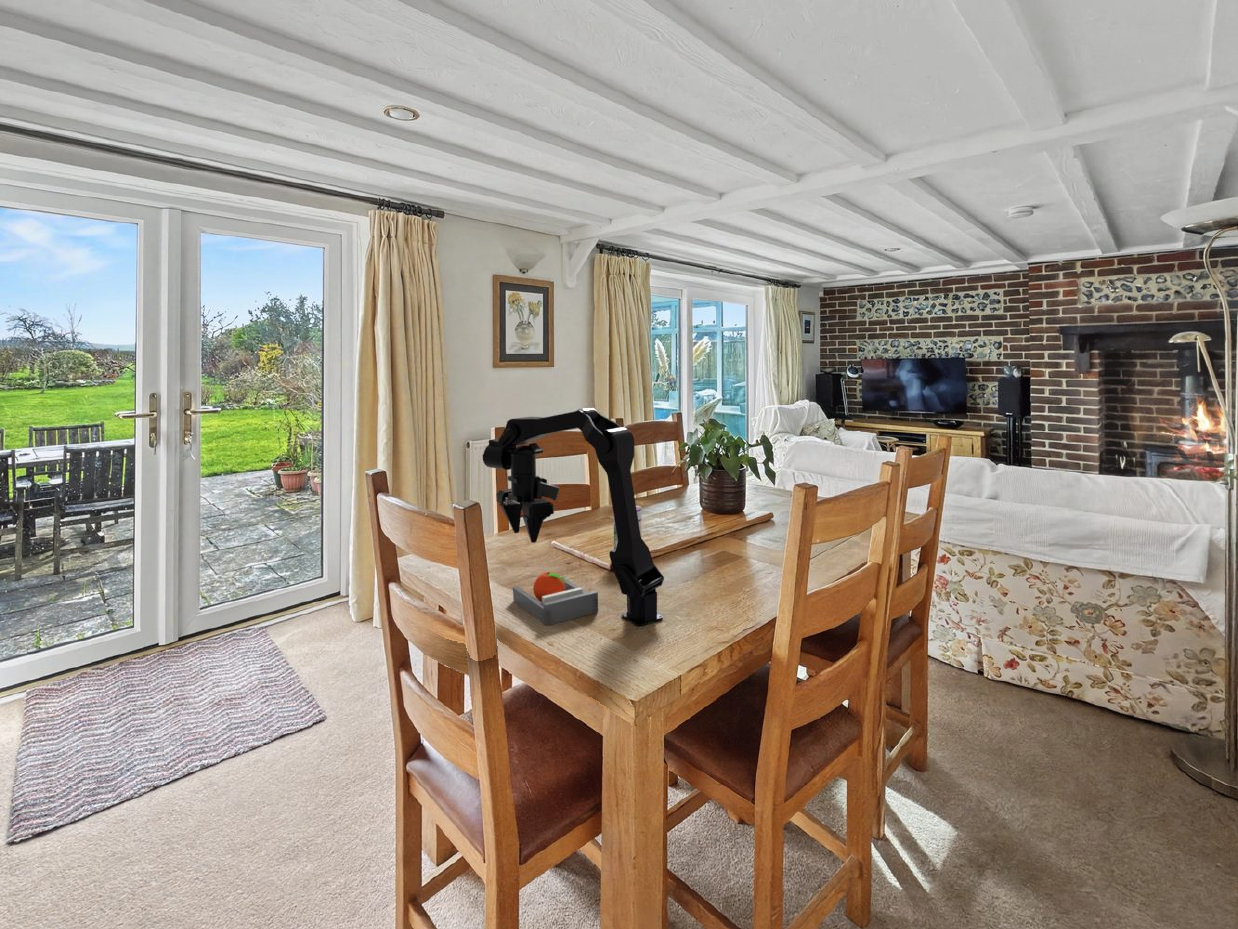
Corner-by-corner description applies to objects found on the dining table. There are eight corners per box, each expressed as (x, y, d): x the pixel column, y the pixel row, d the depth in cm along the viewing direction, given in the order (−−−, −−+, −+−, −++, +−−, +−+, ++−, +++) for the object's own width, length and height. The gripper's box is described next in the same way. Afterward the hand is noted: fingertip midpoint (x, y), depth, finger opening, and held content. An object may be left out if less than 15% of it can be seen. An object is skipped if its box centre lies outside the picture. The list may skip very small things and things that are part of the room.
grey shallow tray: (598, 611, 134) (597, 592, 133) (546, 625, 127) (545, 605, 126) (562, 589, 147) (561, 571, 146) (513, 600, 140) (512, 582, 139)
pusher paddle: (582, 606, 136) (582, 589, 135) (544, 616, 131) (544, 598, 130) (579, 604, 137) (579, 587, 136) (542, 614, 132) (541, 596, 131)
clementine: (574, 600, 140) (573, 569, 139) (560, 612, 134) (559, 580, 133) (543, 595, 143) (542, 565, 142) (527, 606, 137) (526, 575, 136)
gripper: (574, 474, 140) (574, 541, 143) (536, 462, 156) (537, 523, 158) (529, 480, 134) (530, 550, 137) (494, 467, 149) (496, 530, 152)
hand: (524, 537), depth 146 cm, fingers open, 9 cm apart
